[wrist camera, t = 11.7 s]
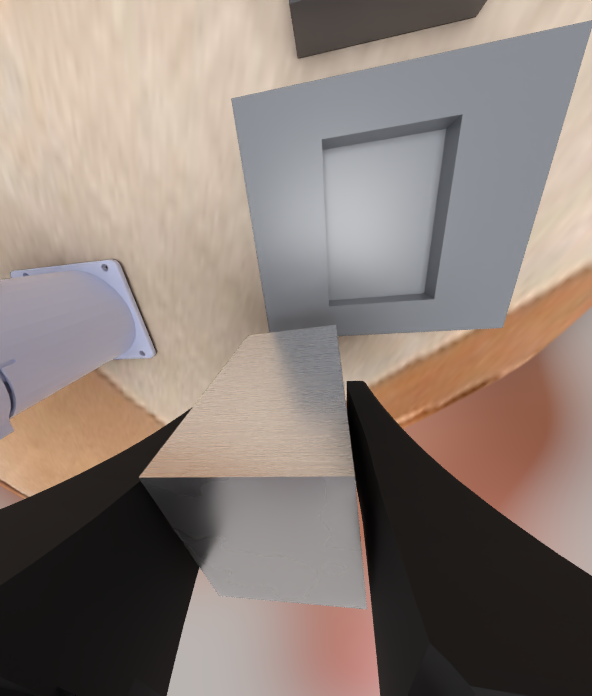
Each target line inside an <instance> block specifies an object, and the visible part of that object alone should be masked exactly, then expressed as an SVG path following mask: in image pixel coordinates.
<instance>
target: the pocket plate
mask: <svg viewBox="0 0 592 696" xmlns="http://www.w3.org/2000/svg"><path fill="white" fill-rule="evenodd" d="M591 29H592V20H591V21H587V22H582V23H577V24H573V25H568V26H563V27H559V28H554V29H550V30H545V31H540V32H536V33H531V34H527V35H522V36H517V37H513V38H508V39H504V40H499V41H494V42H490V43H485V44H481V45H476V46H471V47H467V48H462V49H458V50H453V51H448V52H444V53H439V54H435V55H430V56H425V57H421V58H416V59H412V60H407V61H402V62H398V63H393V64H389V65H384V66H379V67H375V68H370V69H366V70H361V71H356V72H352V73H347V74H343V75H338V76H333V77H329V78H324V79H320V80H315V81H310V82H306V83H301V84H297V85H292V86H287V87H283V88H278V89H273V90H269V91H264V92H260V93H255V94H250V95H246V96H241V97H237V98H232V99H231V100H232V106H233V112H234V118H235V125H236V131H237V137H238V143H239V149H240V155H241V161H242V167H243V173H244V179H245V185H246V191H247V198H248V204H249V210H250V216H251V222H252V228H253V234H254V240H255V246H256V252H257V258H258V264H259V271H260V277H261V283H262V289H263V295H264V301H265V307H266V313H267V319H268V325H269V331H270V333H271V332H280V331H288V330H297V329H305V328H313V327H322V326H330V325H336V329H337V336H350V335H369V334H389V333H409V332H429V331H449V330H469V329H489V328H503V325H504V321H505V318H506V315H507V311H508V308H509V305H510V301H511V298H512V294H513V291H514V288H515V284H516V281H517V278H518V274H519V271H520V268H521V264H522V261H523V257H524V254H525V251H526V247H527V244H528V241H529V237H530V234H531V230H532V227H533V224H534V220H535V217H536V214H537V210H538V207H539V204H540V200H541V197H542V193H543V190H544V187H545V183H546V180H547V177H548V173H549V170H550V167H551V163H552V160H553V156H554V153H555V150H556V146H557V143H558V140H559V136H560V133H561V130H562V126H563V123H564V119H565V116H566V113H567V109H568V106H569V103H570V99H571V96H572V92H573V89H574V86H575V82H576V79H577V76H578V72H579V69H580V66H581V62H582V59H583V55H584V52H585V49H586V45H587V42H588V39H589V35H590V32H591Z"/></svg>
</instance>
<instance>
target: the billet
mask: <svg viewBox="0 0 592 696" xmlns="http://www.w3.org/2000/svg"><path fill="white" fill-rule="evenodd" d="M139 479H140V480H141V482H142V483H143V485H144V486H145V488H146V489H147V491H148V492H149V494H150V495H151V497H152V498H153V499H154V501H155V502H156V504H157V505H158V507H159V508H160V510H161V511H162V513H163V514H164V516H165V517H166V519H167V520H168V521H169V523H170V524H171V526H172V527H173V529H174V530H175V532H176V533H177V535H178V536H179V538H180V539H181V541H182V542H183V543H184V545H185V546H186V548H187V549H188V551H189V552H190V554H191V555H192V557H193V558H194V560H195V561H196V563H197V564H198V566H199V567H200V568H201V570H202V571H203V573H204V574H205V575H206V577H207V579H208V580H209V582H210V583H211V584H212V586H213V588H214V589H215V590H216V592H217V593H218V595H219V596H226V597H237V598H248V599H259V600H270V601H282V602H293V603H303V604H315V605H326V606H336V607H348V608H359V609H367V604H366V593H365V582H364V571H363V561H362V549H361V539H360V527H359V517H358V506H357V495H356V483H355V473H354V465H353V457H352V449H351V441H350V433H349V425H348V417H347V409H346V401H345V393H344V385H343V377H342V369H341V361H340V353H339V345H338V337H337V329H336V325H330V326H322V327H313V328H305V329H297V330H288V331H280V332H271V333H263V334H254V335H248V336H247V338H246V339H245V340H244V342H243V343H242V344H241V345H240V347H239V348H238V349H237V351H236V352H235V353H234V355H233V356H232V357H231V358H230V360H229V361H228V362H227V364H226V365H225V366H224V367H223V369H222V370H221V371H220V373H219V374H218V375H217V377H216V378H215V379H214V380H213V382H212V383H211V384H210V386H209V387H208V388H207V390H206V391H205V392H204V393H203V395H202V396H201V397H200V399H199V400H198V401H197V403H196V404H195V405H194V406H193V408H192V409H191V410H190V412H189V413H188V414H187V415H186V417H185V418H184V419H183V421H182V422H181V423H180V425H179V426H178V427H177V428H176V430H175V431H174V432H173V434H172V435H171V436H170V438H169V439H168V440H167V441H166V443H165V444H164V445H163V447H162V448H161V449H160V451H159V452H158V453H157V454H156V456H155V457H154V458H153V460H152V461H151V462H150V463H149V465H148V466H147V467H146V469H145V470H144V471H143V473H142V474H141V475H140V476H139Z"/></svg>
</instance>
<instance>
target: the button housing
mask: <svg viewBox="0 0 592 696" xmlns="http://www.w3.org/2000/svg"><path fill="white" fill-rule="evenodd" d="M486 1H487V0H289V5H290V11H291V18H292V24H293V30H294V37H295V43H296V49H297V56H298V58H301V57H305V56H310V55H314V54H318V53H322V52H327V51H331V50H335V49H339V48H344V47H348V46H352V45H357V44H361V43H365V42H369V41H374V40H378V39H382V38H386V37H391V36H395V35H399V34H404V33H408V32H412V31H416V30H421V29H425V28H429V27H433V26H438V25H442V24H446V23H450V22H455V21H459V20H463V19H468V18H472V17H476V16H477V14H478V13H479V11H480V10H481V8H482V7H483V5H484V4H485V3H486Z"/></svg>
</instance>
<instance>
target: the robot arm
mask: <svg viewBox="0 0 592 696" xmlns="http://www.w3.org/2000/svg"><path fill="white" fill-rule="evenodd" d="M106 265H107V267H108V269H109V270H108V269H107V268H106ZM155 354H156V352H155V349H154V346H153V344H152V342H151V339H150V337H149V334H148V332H147V329H146V327H145V324H144V322H143V319H142V317H141V315H140V312H139V310H138V307H137V305H136V302H135V300H134V297H133V295H132V292H131V290H130V288H129V285H128V283H127V280H126V278H125V275H124V273H123V270H122V268H121V266H120V264H119V263H118V262H117V261H116V260H112V259H111V260H103V261H94V262H85V263H77V264H68V265H60V266H51V267H42V268H34V269H25V270H17V271H12V272H11V278H9V279H2V280H0V439H2V438H4V437H5V436H7V435H8V434H10V433H12V432H13V431H14V429H13V427H12V425H11V423H10V421H9V419H11V418H12V417H14V416H16V415H18V414H19V413H21V412H23V411H24V410H26V409H28V408H30V407H31V406H33V405H35V404H37V403H38V402H40V401H42V400H43V399H45V398H47V397H49V396H50V395H52V394H54V393H56V392H57V391H59V390H61V389H62V388H64V387H66V386H68V385H69V384H71V383H73V382H75V381H76V380H78V379H80V378H81V377H83V376H85V375H87V374H88V373H90V372H92V371H93V370H95V369H97V368H99V367H100V366H102V365H104V364H106V363H107V362H109V361H111V360H115V359H139V358H152V357H153V356H155ZM192 408H193V407H192ZM192 408H191V409H192ZM191 409H189V410H188V411H186V412H185V413H184V414H182V415H181V416H179V417H178V418H176V419H175V420H173V421H172V422H170V423H169V424H167V425H166V426H164V427H163V428H161V429H160V430H158V431H157V432H155V433H154V434H152V435H150V436H149V437H147V438H145V439H144V440H142V441H140V442H139V443H137V444H135V445H133V446H132V447H130V448H128V449H127V450H125V451H123V452H121V453H119V454H118V455H116V456H114V457H112V458H110V459H108V460H106V461H104V462H102V463H100V464H98V465H96V466H94V467H92V468H90V469H88V470H86V471H85V472H83V473H81V474H79V475H77V476H75V477H72V478H70V479H68V480H66V481H64V482H62V483H60V484H57V485H55V486H53V487H51V488H49V489H47V490H44V491H42V492H40V493H37V494H35V495H33V496H31V497H28V498H26V499H24V500H22V501H19V502H17V503H15V504H12V505H10V506H7V507H5V508H2V509H0V696H167V692H168V687H169V683H170V678H171V674H172V670H173V666H174V662H175V658H176V654H177V650H178V646H179V641H180V638H181V634H182V629H183V625H184V622H185V618H186V614H187V611H188V607H189V603H190V599H191V596H192V591H193V588H194V584H195V580H196V577H197V573H198V570H199V566H198V564H197V563H196V561H195V560H194V558H193V557H192V555H191V554H190V552H189V551H188V549H187V548H186V546H185V545H184V543H183V542H182V541H181V539H180V538H179V536H178V535H177V533H176V532H175V530H174V529H173V527H172V526H171V524H170V523H169V521H168V520H167V519H166V517H165V516H164V514H163V513H162V511H161V510H160V508H159V507H158V505H157V504H156V502H155V501H154V499H153V498H152V497H151V495H150V494H149V492H148V491H147V489H146V488H145V486H144V485H143V483H142V482H141V480H140V479H139V476H140V475H141V474H142V473H143V471H144V470H145V469H146V467H147V466H148V465H149V463H150V462H151V461H152V460H153V458H154V457H155V456H156V454H157V453H158V452H159V451H160V449H161V448H162V447H163V445H164V444H165V443H166V441H167V440H168V439H169V438H170V436H171V435H172V434H173V432H174V431H175V430H176V428H177V427H178V426H179V425H180V423H181V422H182V421H183V419H184V418H185V417H186V415H187V414H188V413H189V412H190V410H191ZM347 417H348V425H349V433H350V441H351V449H352V457H353V465H354V473H355V481H356V487H357V492H358V497H359V502H360V508H361V514H362V521H363V528H364V537H365V546H366V556H367V565H368V575H369V584H370V594H371V602H372V603H371V604H372V614H373V624H374V634H375V644H376V654H377V665H378V676H379V686H380V696H592V576H591V575H589V574H588V573H586V572H585V571H583V570H582V569H580V568H579V567H577V566H576V565H574V564H573V563H571V562H570V561H568V560H567V559H565V558H564V557H562V556H560V555H558V553H556V552H554V551H553V550H552V549H550V548H549V547H547V546H546V545H544V544H543V543H541V542H540V541H539V540H537V539H536V538H535V537H533V536H532V535H530V534H529V533H528V532H526V531H525V530H523V529H522V528H520V527H519V526H517V525H516V524H515V523H513V522H512V521H511V520H509V519H508V518H506V517H505V516H504V515H502V514H501V513H500V512H498V511H497V510H496V509H494V508H493V507H492V506H490V505H489V504H488V503H486V502H485V501H484V500H482V499H481V498H480V497H479V496H478V495H476V494H475V493H474V492H473V491H471V490H470V489H469V488H467V487H466V486H465V485H463V484H462V483H461V482H460V481H458V480H457V479H456V478H455V477H453V476H452V475H451V474H450V473H449V472H448V471H447V470H445V469H444V468H443V467H442V466H441V465H440V464H438V463H437V462H436V461H435V460H434V459H433V458H432V457H431V456H430V455H428V454H427V453H426V452H425V451H424V450H423V449H422V448H421V447H420V446H419V445H418V444H417V443H416V442H415V441H414V440H413V439H412V438H411V437H410V436H409V435H408V434H407V433H406V432H405V431H404V430H403V429H402V428H401V427H400V426H399V424H398V423H397V422H396V421H395V420H394V419H393V418H392V417H391V415H390V414H389V413H388V412H387V411H386V410H385V408H384V407H383V406H382V405H381V403H380V402H379V401H378V400H377V398H376V397H375V396H374V394H373V393H372V392H371V390H370V389H369V387H368V386H367V384H366V383H365V382H364V381H347Z"/></svg>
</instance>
